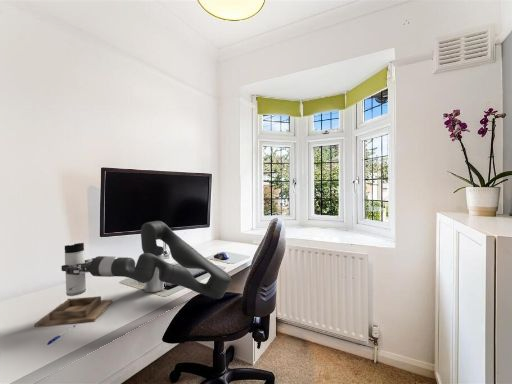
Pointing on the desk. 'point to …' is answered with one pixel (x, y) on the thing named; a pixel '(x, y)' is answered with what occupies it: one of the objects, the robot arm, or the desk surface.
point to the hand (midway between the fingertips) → (70, 265)
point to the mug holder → (75, 311)
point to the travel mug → (73, 257)
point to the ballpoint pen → (59, 335)
